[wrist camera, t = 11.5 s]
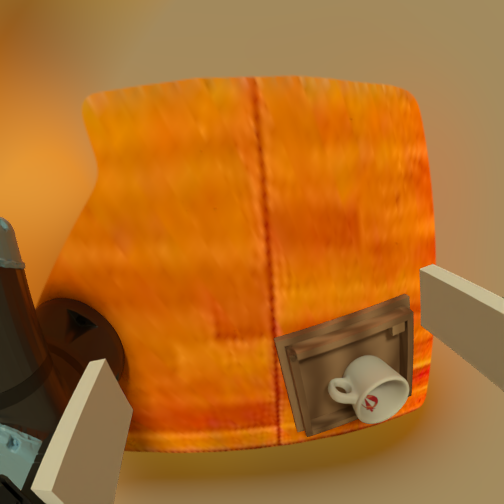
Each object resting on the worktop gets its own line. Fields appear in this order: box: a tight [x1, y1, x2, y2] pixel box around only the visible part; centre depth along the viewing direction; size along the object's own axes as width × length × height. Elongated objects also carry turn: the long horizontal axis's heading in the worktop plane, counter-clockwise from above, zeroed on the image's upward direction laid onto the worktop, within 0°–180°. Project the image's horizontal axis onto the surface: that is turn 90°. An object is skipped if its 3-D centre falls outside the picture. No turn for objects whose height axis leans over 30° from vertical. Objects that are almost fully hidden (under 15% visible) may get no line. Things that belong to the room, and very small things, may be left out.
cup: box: [328, 355, 409, 424], centre depth 40 cm, size 11×8×8 cm
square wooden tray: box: [274, 294, 413, 437], centre depth 43 cm, size 20×18×4 cm
